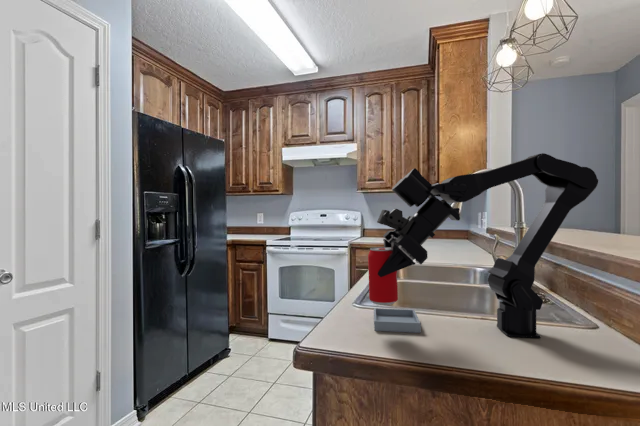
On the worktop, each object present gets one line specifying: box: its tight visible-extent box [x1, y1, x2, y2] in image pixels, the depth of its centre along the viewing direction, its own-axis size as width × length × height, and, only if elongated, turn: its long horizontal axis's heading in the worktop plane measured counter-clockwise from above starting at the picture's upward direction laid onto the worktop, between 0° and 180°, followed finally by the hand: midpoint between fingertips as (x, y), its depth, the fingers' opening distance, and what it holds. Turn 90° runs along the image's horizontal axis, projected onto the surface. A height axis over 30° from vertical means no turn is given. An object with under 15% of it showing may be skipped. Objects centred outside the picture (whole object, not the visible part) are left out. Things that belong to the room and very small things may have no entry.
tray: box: [373, 307, 422, 334], centre depth 77 cm, size 10×10×2 cm
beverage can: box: [367, 246, 399, 306], centre depth 72 cm, size 6×6×12 cm
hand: (376, 272), depth 72 cm, fingers closed on beverage can, 6 cm apart
